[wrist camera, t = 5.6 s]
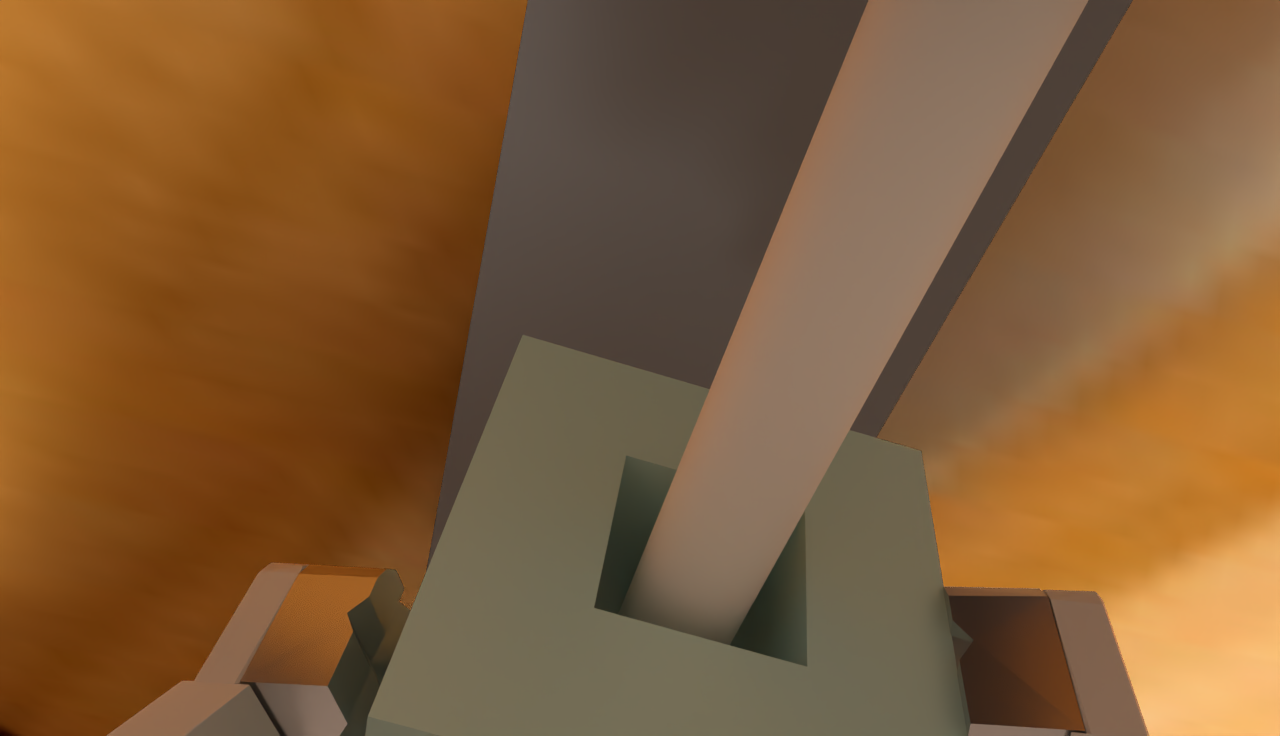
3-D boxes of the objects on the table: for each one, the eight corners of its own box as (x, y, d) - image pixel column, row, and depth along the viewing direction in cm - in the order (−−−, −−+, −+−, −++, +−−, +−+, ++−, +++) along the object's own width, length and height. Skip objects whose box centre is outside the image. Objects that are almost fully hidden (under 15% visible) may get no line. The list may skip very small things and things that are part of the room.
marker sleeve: (802, 637, 14) (805, 1035, 10) (474, 547, 13) (340, 917, 9) (921, 450, 11) (992, 882, 7) (523, 334, 11) (368, 716, 7)
